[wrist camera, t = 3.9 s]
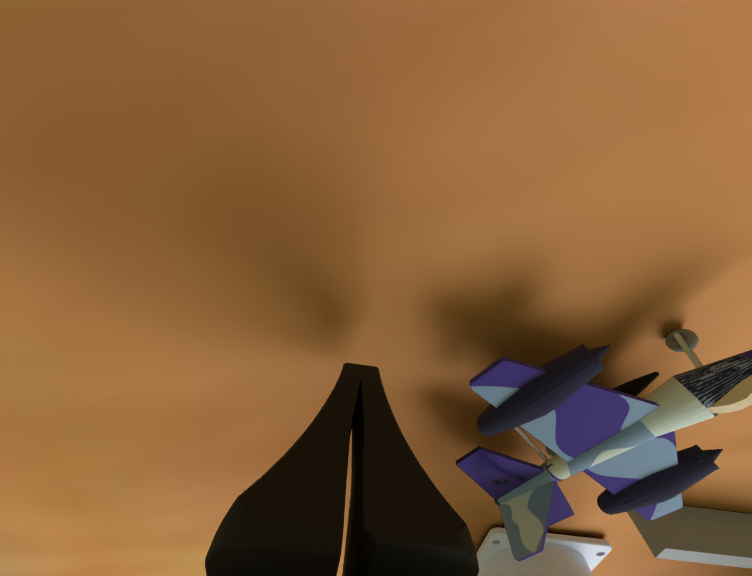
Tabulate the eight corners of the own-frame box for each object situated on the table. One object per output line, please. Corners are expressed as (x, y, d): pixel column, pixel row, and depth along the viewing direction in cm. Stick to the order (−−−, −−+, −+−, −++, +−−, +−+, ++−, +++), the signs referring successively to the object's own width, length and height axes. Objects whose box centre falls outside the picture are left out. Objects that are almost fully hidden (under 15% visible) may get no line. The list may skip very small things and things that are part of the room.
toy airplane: (822, 242, 12) (973, 287, 9) (669, 474, 19) (727, 547, 16) (468, 242, 13) (496, 286, 9) (438, 471, 19) (449, 542, 16)
